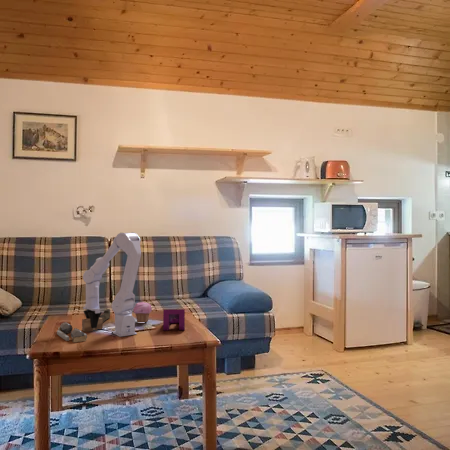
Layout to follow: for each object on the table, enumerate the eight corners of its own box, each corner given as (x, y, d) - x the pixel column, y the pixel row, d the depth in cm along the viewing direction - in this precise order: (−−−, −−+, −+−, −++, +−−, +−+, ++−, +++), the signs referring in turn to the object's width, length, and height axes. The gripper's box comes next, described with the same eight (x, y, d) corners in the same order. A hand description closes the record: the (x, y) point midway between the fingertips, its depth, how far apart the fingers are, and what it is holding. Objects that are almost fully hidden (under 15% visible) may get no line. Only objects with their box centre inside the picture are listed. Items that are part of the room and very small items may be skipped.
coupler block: (102, 329, 206) (102, 318, 206) (85, 332, 201) (85, 320, 201) (99, 327, 209) (99, 316, 209) (82, 330, 205) (82, 318, 205)
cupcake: (133, 321, 224) (133, 300, 224) (151, 320, 226) (151, 300, 226) (133, 325, 215) (133, 303, 215) (152, 324, 217) (152, 303, 217)
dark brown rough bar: (102, 325, 215) (102, 315, 215) (94, 325, 215) (94, 315, 215) (114, 317, 234) (114, 308, 234) (107, 317, 234) (107, 308, 234)
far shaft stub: (73, 332, 200) (73, 323, 200) (62, 334, 197) (62, 325, 197) (69, 330, 205) (69, 321, 205) (58, 331, 202) (58, 322, 202)
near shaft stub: (86, 340, 186) (86, 331, 186) (73, 342, 183) (73, 332, 183) (81, 337, 191) (81, 328, 191) (69, 339, 188) (69, 329, 188)
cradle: (86, 338, 191) (86, 334, 191) (66, 341, 186) (66, 337, 186) (76, 331, 202) (76, 328, 202) (57, 334, 197) (57, 330, 197)
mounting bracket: (164, 337, 216) (163, 328, 200) (165, 319, 220) (163, 309, 204) (184, 336, 217) (184, 328, 201) (184, 319, 221) (184, 309, 205)
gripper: (78, 295, 209) (78, 324, 209) (88, 299, 197) (88, 331, 197) (93, 294, 213) (93, 323, 213) (104, 298, 201) (104, 328, 201)
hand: (92, 326), depth 205 cm, fingers closed on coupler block, 4 cm apart
